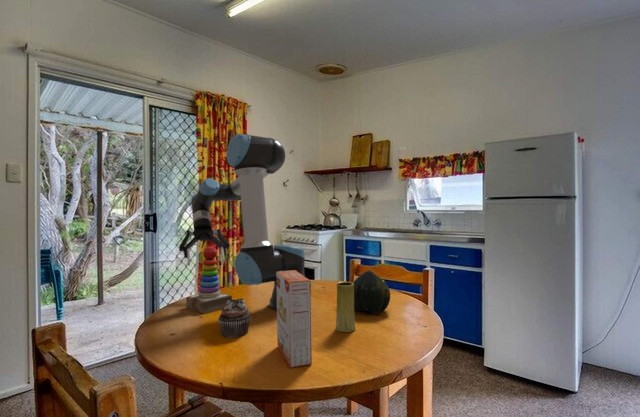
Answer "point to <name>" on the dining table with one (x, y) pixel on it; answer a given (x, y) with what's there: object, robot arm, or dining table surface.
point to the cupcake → (234, 319)
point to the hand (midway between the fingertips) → (206, 262)
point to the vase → (345, 307)
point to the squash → (370, 293)
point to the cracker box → (294, 317)
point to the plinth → (207, 303)
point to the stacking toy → (209, 275)
